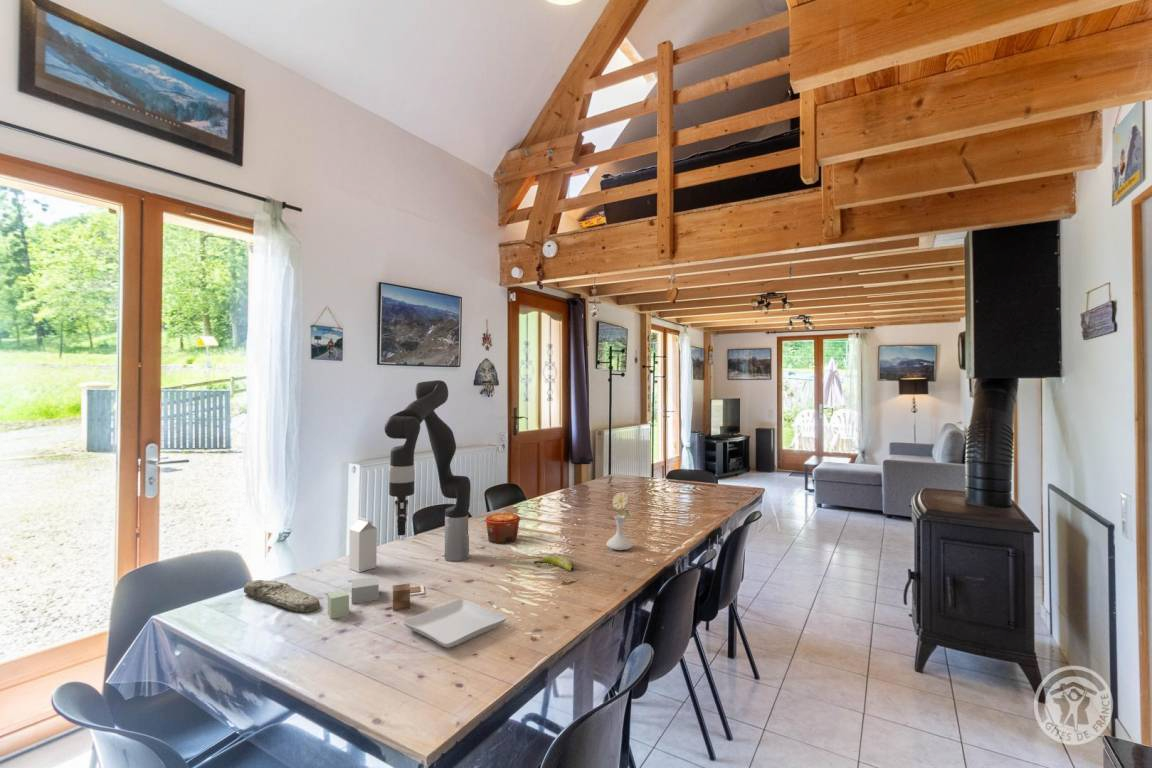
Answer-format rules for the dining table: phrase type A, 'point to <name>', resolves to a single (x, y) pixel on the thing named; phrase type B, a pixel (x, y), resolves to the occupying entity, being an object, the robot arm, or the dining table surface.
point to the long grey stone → (281, 595)
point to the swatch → (417, 590)
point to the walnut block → (401, 597)
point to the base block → (365, 589)
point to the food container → (502, 527)
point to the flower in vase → (620, 524)
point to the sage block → (338, 604)
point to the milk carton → (362, 545)
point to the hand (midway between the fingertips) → (401, 531)
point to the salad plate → (455, 622)
